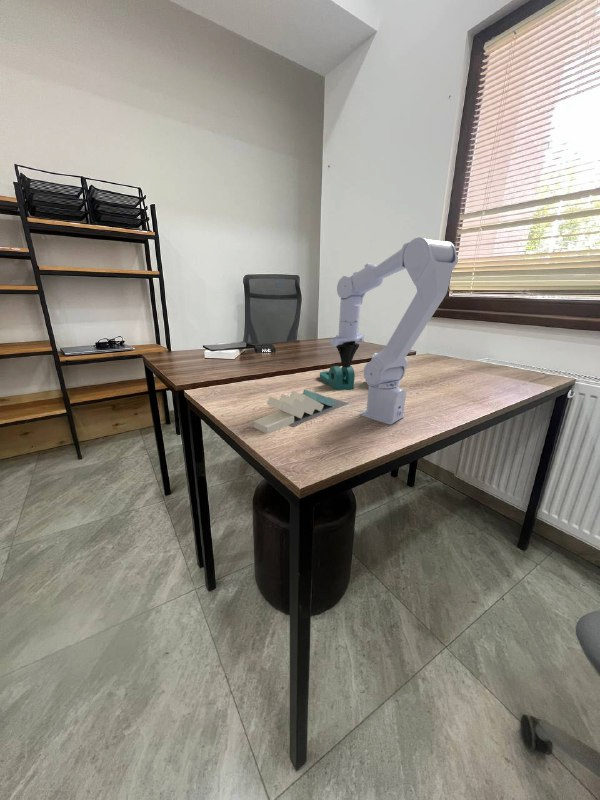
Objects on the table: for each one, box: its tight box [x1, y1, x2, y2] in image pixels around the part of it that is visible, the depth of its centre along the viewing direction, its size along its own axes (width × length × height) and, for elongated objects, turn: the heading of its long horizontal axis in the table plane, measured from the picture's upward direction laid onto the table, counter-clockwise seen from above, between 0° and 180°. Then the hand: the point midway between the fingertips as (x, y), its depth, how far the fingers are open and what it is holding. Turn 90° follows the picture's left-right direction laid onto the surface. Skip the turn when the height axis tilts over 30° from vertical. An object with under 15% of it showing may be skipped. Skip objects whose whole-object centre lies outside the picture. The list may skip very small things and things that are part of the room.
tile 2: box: [289, 390, 324, 412], centre depth 84 cm, size 5×2×9 cm
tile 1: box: [302, 389, 335, 407], centre depth 88 cm, size 5×2×9 cm
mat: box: [288, 396, 349, 428], centre depth 87 cm, size 8×24×1 cm, turn 136°
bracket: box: [319, 365, 356, 391], centre depth 113 cm, size 18×7×8 cm, turn 18°
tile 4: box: [266, 396, 304, 419], centre depth 79 cm, size 5×2×9 cm
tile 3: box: [279, 393, 315, 415], centre depth 82 cm, size 5×2×9 cm
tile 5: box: [253, 410, 294, 435], centre depth 77 cm, size 5×2×9 cm
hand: (345, 366), depth 94 cm, fingers closed
